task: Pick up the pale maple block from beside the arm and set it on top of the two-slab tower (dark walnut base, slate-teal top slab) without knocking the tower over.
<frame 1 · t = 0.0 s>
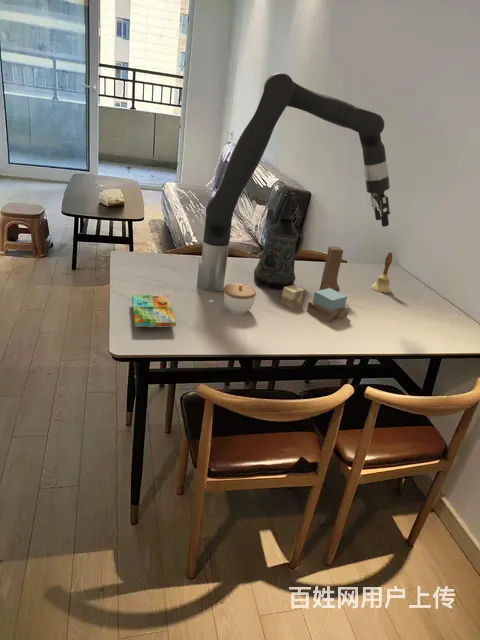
hand: (382, 222, 166), 31 cm above the table, tool tilted 20°, fingers open, 8 cm apart
tower top: (328, 304, 166), point 4 cm above the table
wooden block: (328, 294, 185), on the table
puzzle game: (152, 319, 148), on the table
beer stein: (274, 281, 190), on the table
tower base: (326, 314, 168), on the table
hand bell: (380, 289, 198), on the table
maple block: (290, 303, 172), on the table
lidded jar: (237, 311, 161), on the table
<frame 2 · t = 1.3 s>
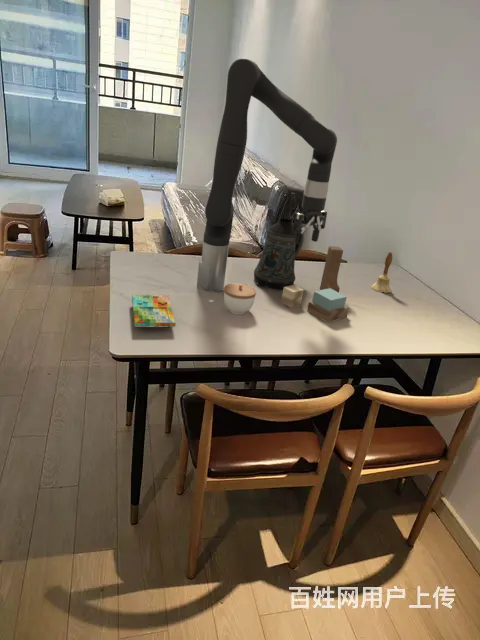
hand: (306, 242, 162), 23 cm above the table, tool pointing down, fingers open, 8 cm apart
nothing on the table moved.
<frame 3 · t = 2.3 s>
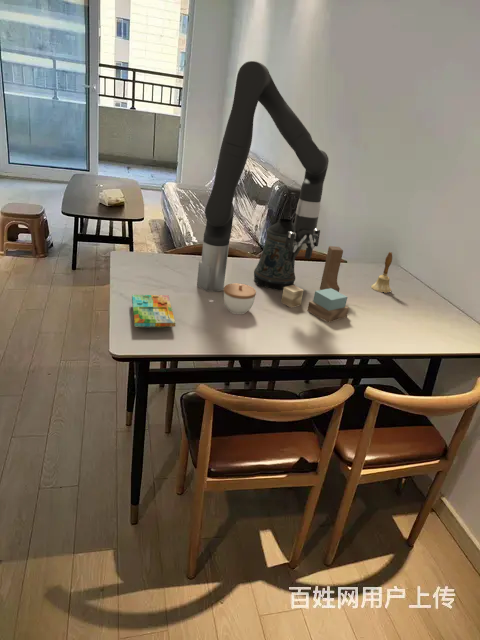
hand: (299, 259, 165), 17 cm above the table, tool pointing down, fingers open, 8 cm apart
tower top: (328, 304, 166), point 4 cm above the table, touching tower base
tower base: (326, 314, 168), on the table, touching tower top
everything else where it was.
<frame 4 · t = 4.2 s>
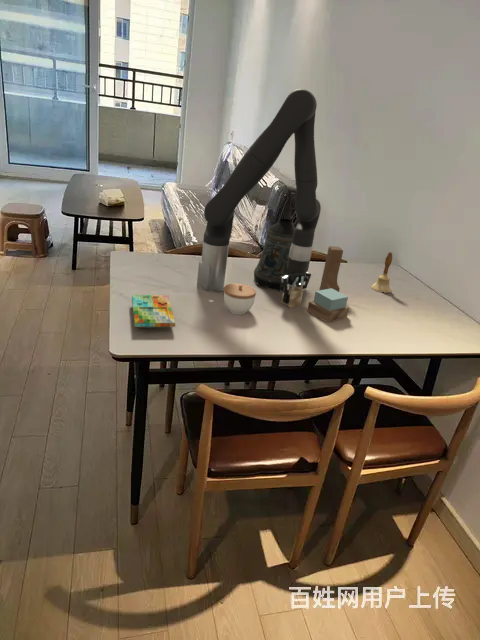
hand: (291, 301, 171), 1 cm above the table, tool pointing down, fingers closed on maple block, 5 cm apart
tower top: (329, 304, 166), point 4 cm above the table
tower base: (326, 314, 168), on the table
maple block: (290, 303, 172), on the table, touching gripper
everything else where it was.
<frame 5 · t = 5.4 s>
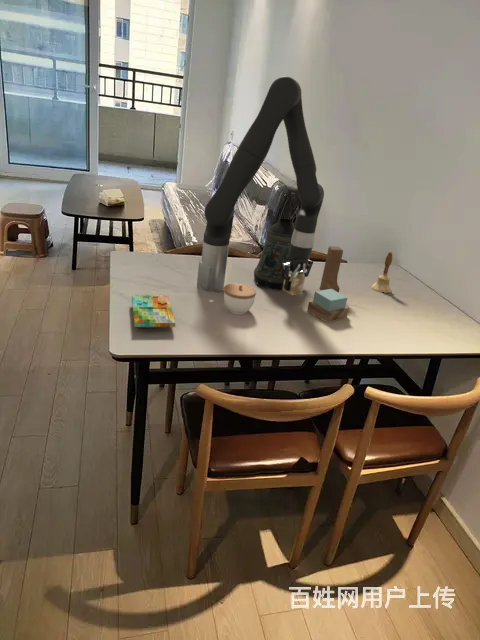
hand: (292, 288, 169), 6 cm above the table, tool pointing down, fingers closed on maple block, 5 cm apart
tower top: (328, 304, 166), point 3 cm above the table, touching tower base
tower base: (326, 315, 168), on the table, touching tower top
maple block: (291, 291, 170), point 5 cm above the table, touching gripper
everything else where it was.
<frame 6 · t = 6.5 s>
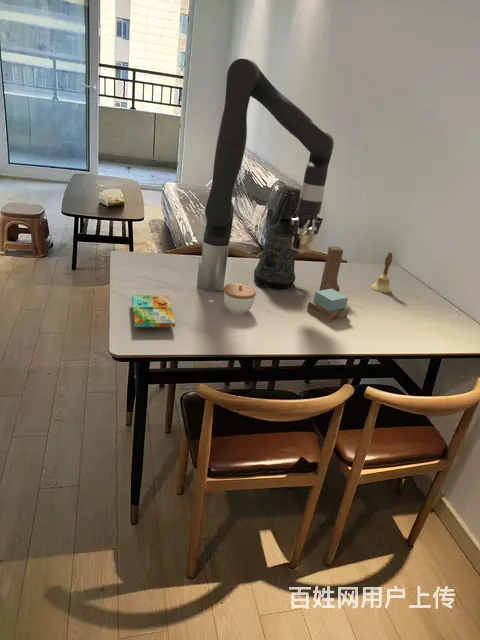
hand: (301, 247, 162), 21 cm above the table, tool pointing down, fingers closed on maple block, 5 cm apart
maple block: (300, 250, 163), point 20 cm above the table, touching gripper
everything else where it was.
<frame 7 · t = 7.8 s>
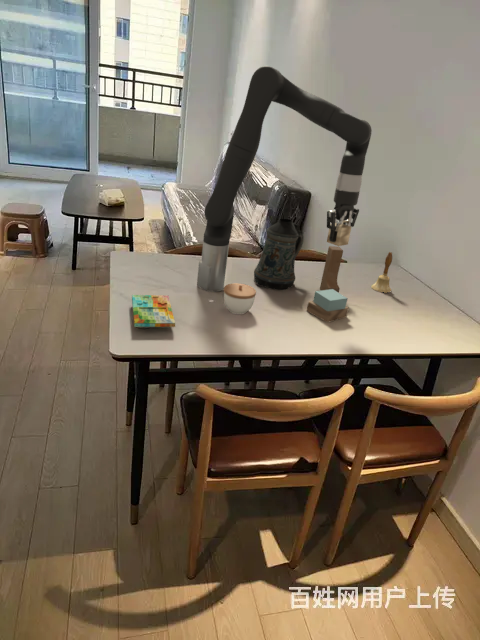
hand: (337, 240, 157), 26 cm above the table, tool pointing down, fingers closed on maple block, 5 cm apart
tower top: (328, 305, 166), point 3 cm above the table
tower base: (326, 315, 168), on the table
maple block: (337, 243, 157), point 25 cm above the table, touching gripper
everything else where it was.
when the fingers open (11 cm above the table, at t = 10.5 s): maple block drops 2 cm, resting on tower top.
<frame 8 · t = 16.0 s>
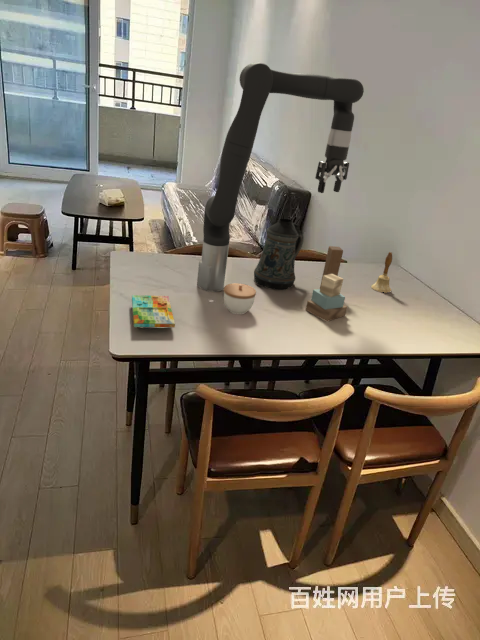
hand: (328, 192, 169), 38 cm above the table, tool pointing down, fingers open, 8 cm apart
tower top: (326, 303, 167), point 4 cm above the table, touching maple block, tower base
tower base: (325, 313, 169), on the table, touching tower top
maple block: (329, 293, 165), point 8 cm above the table, touching tower top
everything else where it was.
at the end: maple block 0.1 cm off-centre on the tower top, point 4.0 cm above the tower top's base; maple block tilted 0°; tower top 0.2 cm off-centre on the tower base, point 4.0 cm above the tower base's base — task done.
